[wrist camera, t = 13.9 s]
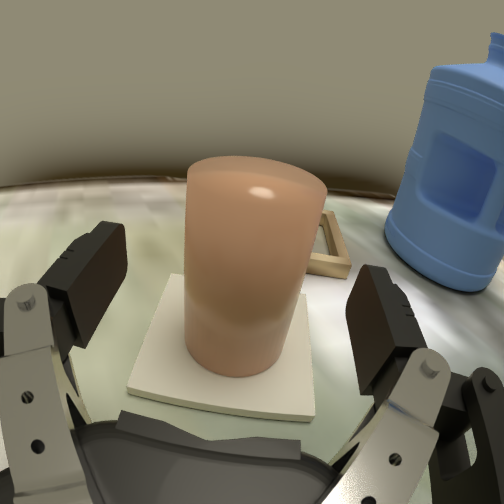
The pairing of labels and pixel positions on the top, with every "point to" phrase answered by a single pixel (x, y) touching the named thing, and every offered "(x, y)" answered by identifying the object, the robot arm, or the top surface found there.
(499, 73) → the water jug
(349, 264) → the wooden frame
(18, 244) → the top surface
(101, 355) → the top surface
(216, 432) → the top surface
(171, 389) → the mat
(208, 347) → the pillar candle
